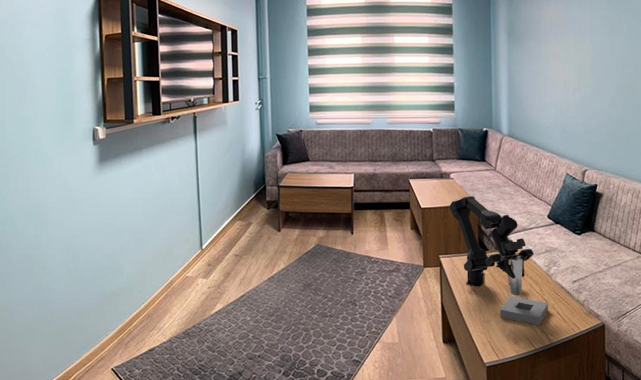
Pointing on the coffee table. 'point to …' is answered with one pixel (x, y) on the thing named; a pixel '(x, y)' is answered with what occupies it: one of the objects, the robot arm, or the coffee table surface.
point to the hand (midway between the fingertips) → (518, 277)
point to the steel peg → (516, 276)
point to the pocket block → (524, 310)
